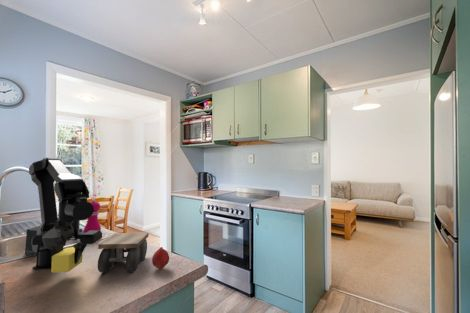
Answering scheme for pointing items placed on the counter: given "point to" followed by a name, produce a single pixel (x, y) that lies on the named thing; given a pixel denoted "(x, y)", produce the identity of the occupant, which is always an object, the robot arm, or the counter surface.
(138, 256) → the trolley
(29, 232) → the small box
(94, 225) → the pepper mill
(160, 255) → the onion
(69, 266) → the block
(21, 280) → the counter surface
